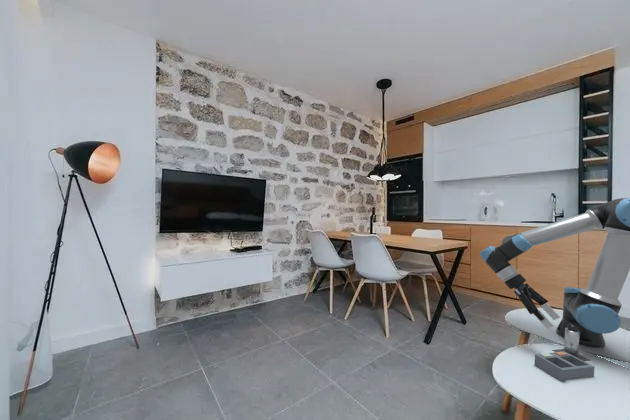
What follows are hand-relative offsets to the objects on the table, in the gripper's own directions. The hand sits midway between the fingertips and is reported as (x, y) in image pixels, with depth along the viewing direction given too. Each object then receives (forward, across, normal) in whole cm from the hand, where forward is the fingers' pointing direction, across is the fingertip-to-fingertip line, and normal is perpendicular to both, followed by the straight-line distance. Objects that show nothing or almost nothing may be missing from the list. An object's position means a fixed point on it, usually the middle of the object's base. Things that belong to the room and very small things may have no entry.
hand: (554, 323), depth 104 cm
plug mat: (+12, 0, -4) cm, 13 cm away
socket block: (+12, +15, -5) cm, 20 cm away
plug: (+11, 0, -4) cm, 12 cm away
